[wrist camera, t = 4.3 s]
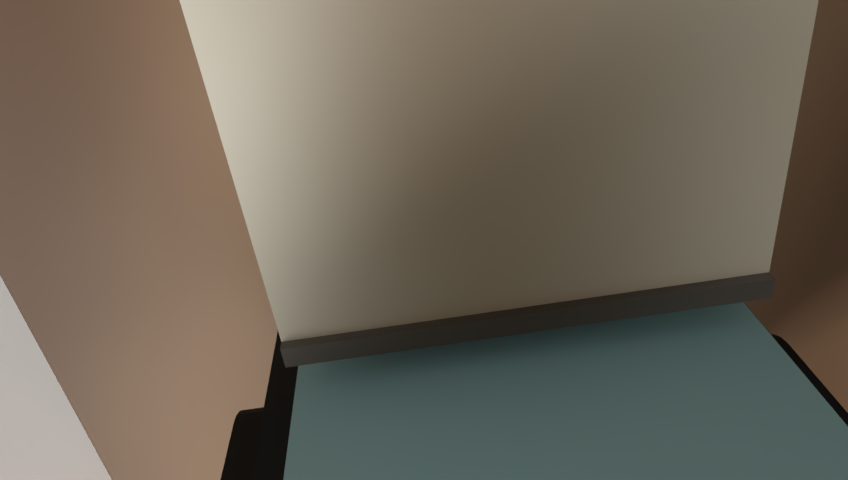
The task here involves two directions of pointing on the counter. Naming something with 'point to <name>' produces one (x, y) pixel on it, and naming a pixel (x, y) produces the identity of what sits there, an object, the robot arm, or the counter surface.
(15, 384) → the counter surface
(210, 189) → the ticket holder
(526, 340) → the stub
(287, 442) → the robot arm
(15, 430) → the counter surface
